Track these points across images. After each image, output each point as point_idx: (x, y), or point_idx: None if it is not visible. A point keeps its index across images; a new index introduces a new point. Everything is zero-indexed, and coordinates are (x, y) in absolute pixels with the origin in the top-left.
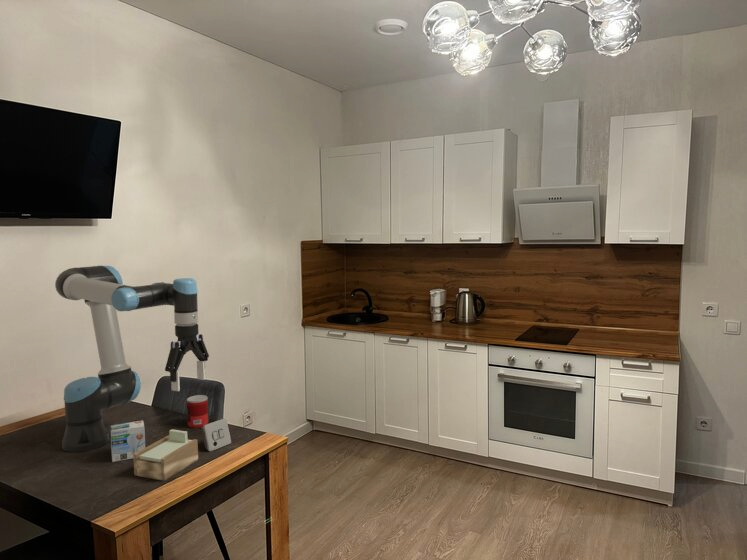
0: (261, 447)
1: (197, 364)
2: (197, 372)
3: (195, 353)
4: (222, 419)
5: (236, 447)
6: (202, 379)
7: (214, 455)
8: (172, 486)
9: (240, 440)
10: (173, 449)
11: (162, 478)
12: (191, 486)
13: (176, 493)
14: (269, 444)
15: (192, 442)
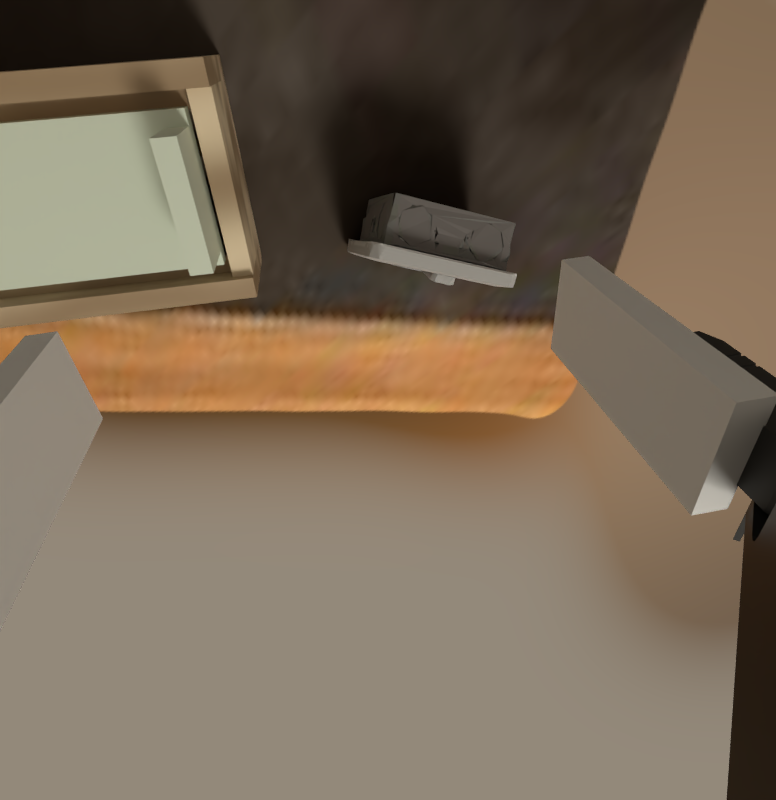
0: (465, 400)
1: (686, 380)
2: (608, 304)
3: (773, 657)
4: (492, 282)
5: (434, 319)
6: (553, 333)
7: (329, 292)
8: None
9: None
10: (98, 262)
11: None
12: None
13: None
14: (498, 407)
15: (215, 301)
